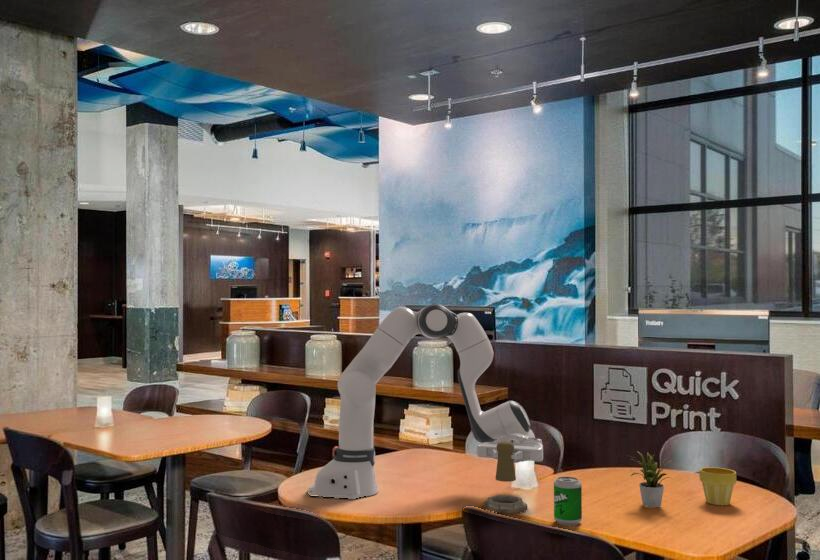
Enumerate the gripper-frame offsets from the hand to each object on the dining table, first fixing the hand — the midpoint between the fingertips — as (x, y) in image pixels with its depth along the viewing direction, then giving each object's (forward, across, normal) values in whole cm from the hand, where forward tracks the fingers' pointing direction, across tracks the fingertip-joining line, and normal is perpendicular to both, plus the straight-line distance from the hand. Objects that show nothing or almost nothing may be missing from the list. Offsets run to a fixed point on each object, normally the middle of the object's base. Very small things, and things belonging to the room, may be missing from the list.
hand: (504, 456), depth 225 cm
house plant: (-19, +39, +16) cm, 46 cm away
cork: (-1, 0, +7) cm, 7 cm away
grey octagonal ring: (-1, 0, +15) cm, 15 cm away
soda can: (+8, +19, +16) cm, 26 cm away
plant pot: (-28, +59, +16) cm, 68 cm away
